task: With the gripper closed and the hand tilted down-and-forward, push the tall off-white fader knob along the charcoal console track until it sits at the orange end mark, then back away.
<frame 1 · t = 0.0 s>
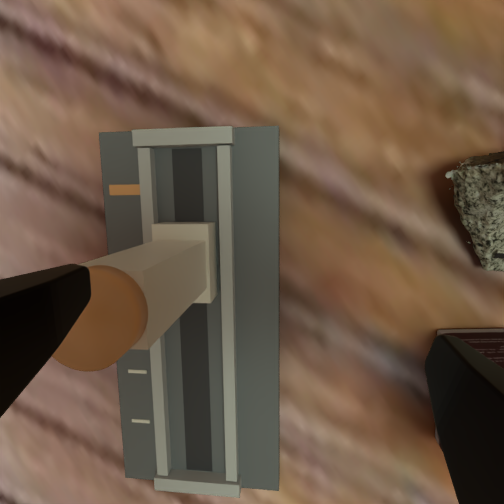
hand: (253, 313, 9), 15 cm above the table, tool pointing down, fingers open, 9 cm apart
fader knob: (155, 279, 18), point 7 cm above the table, slide at 13.8 cm
supplement box: (466, 384, 24), on the table
console: (198, 315, 26), on the table
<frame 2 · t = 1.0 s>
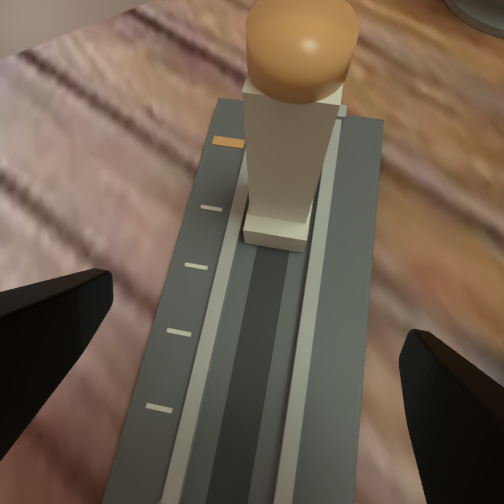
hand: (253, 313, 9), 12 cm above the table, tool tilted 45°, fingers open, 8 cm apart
fader knob: (287, 151, 16), point 7 cm above the table, slide at 13.8 cm
console: (267, 284, 22), on the table
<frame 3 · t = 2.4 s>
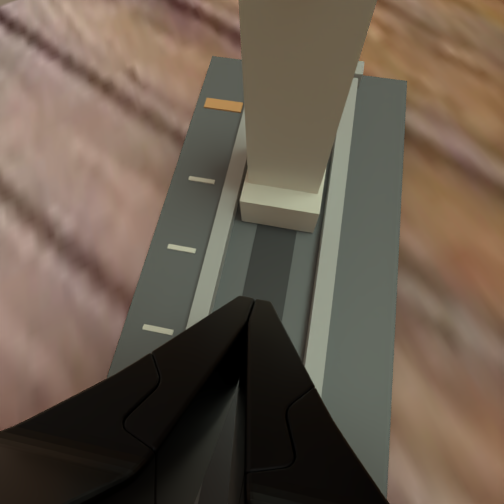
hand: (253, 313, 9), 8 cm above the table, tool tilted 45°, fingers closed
fader knob: (297, 89, 12), point 7 cm above the table, slide at 13.8 cm
console: (269, 272, 18), on the table
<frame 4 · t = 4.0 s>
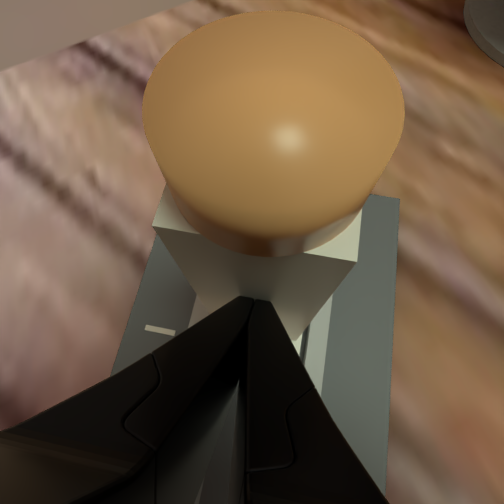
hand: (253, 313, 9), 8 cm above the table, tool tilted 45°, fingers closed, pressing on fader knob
fader knob: (264, 261, 10), point 8 cm above the table, slide at 15.2 cm, touching gripper
console: (237, 445, 15), on the table
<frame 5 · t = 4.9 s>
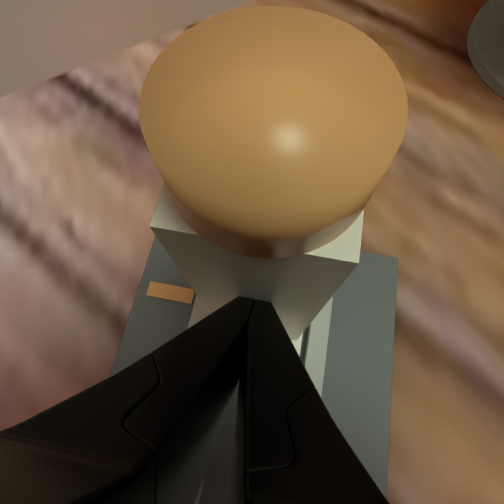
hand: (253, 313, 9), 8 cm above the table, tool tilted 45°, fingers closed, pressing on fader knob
fader knob: (264, 260, 10), point 8 cm above the table, slide at 18.7 cm, touching gripper
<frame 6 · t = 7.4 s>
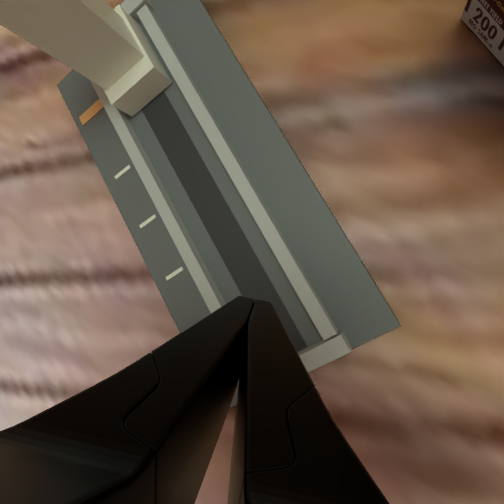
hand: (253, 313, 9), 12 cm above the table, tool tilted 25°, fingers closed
fader knob: (57, 9, 17), point 8 cm above the table, slide at 18.5 cm
console: (207, 187, 23), on the table
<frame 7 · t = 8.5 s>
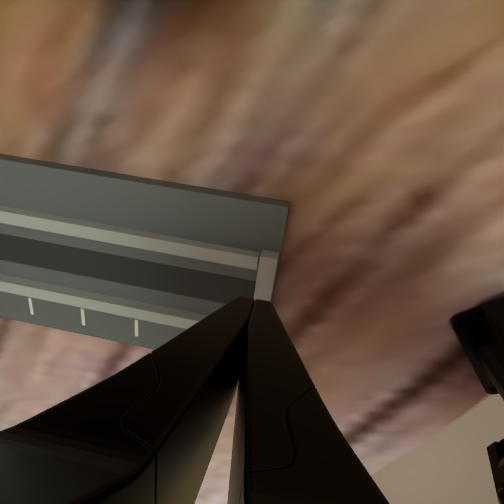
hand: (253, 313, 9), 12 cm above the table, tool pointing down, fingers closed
console: (89, 254, 24), on the table
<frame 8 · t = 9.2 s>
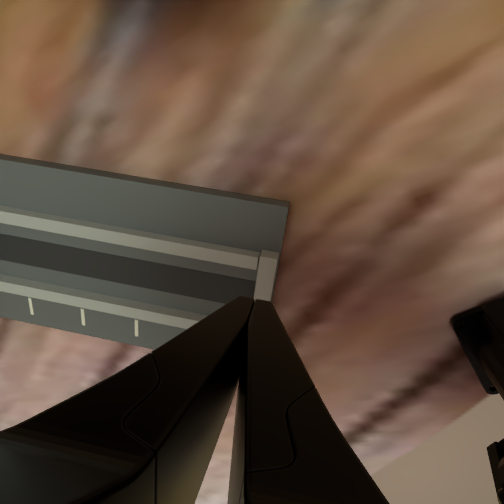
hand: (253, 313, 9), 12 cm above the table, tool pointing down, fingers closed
console: (89, 254, 24), on the table
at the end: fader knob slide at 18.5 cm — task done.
